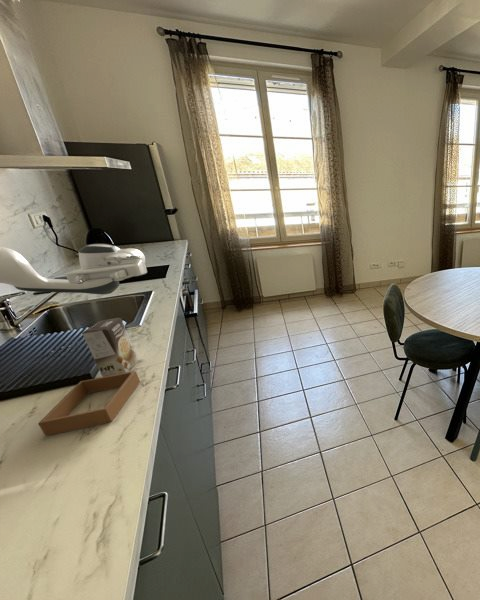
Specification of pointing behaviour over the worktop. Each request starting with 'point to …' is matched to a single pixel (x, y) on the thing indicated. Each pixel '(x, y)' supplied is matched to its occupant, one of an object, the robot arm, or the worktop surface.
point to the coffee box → (110, 347)
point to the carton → (64, 422)
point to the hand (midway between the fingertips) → (95, 279)
